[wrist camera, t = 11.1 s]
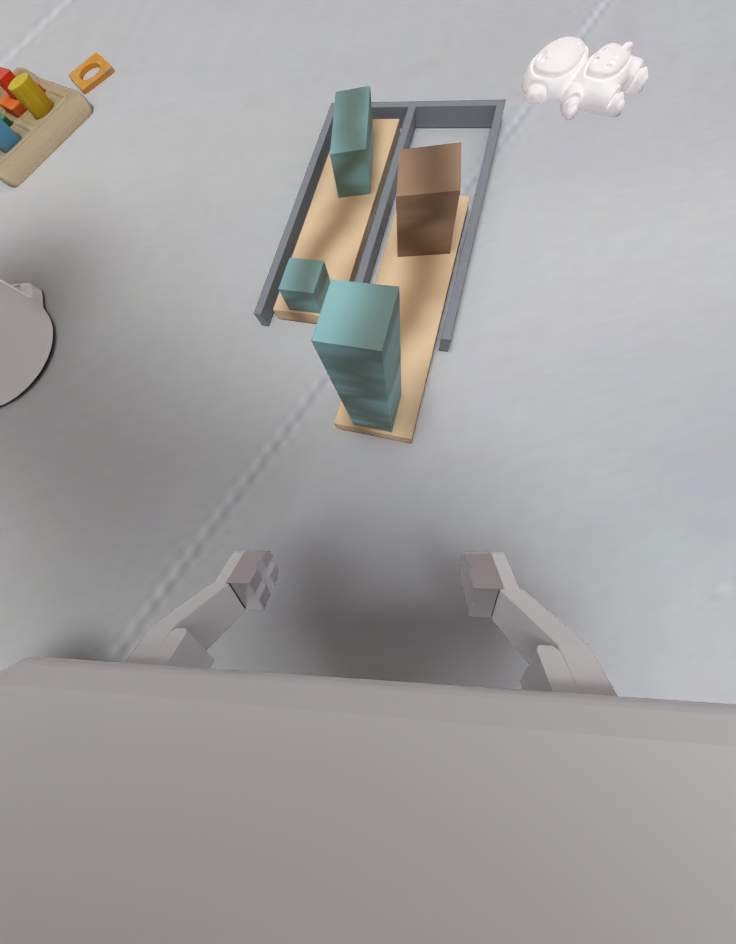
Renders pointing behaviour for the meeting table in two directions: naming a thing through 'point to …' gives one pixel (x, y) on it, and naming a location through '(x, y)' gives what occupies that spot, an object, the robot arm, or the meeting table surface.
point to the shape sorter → (40, 116)
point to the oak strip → (414, 320)
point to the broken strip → (339, 207)
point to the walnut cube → (427, 199)
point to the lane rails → (389, 190)
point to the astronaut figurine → (584, 77)
